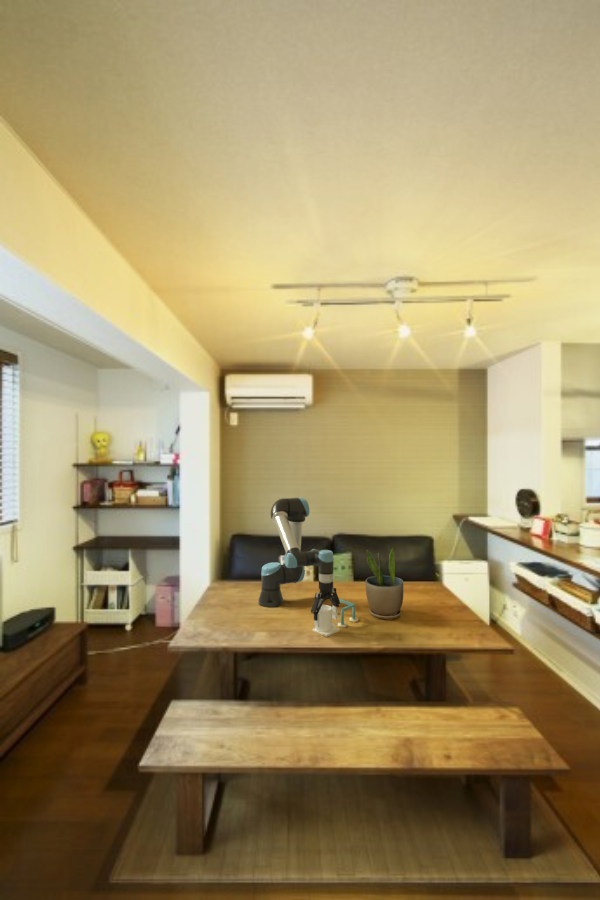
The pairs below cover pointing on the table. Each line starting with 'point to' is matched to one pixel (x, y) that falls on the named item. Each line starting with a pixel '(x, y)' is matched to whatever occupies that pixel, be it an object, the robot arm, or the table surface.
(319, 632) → the coaster
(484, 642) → the table surface
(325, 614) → the mug
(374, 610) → the potted plant
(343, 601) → the wire course
